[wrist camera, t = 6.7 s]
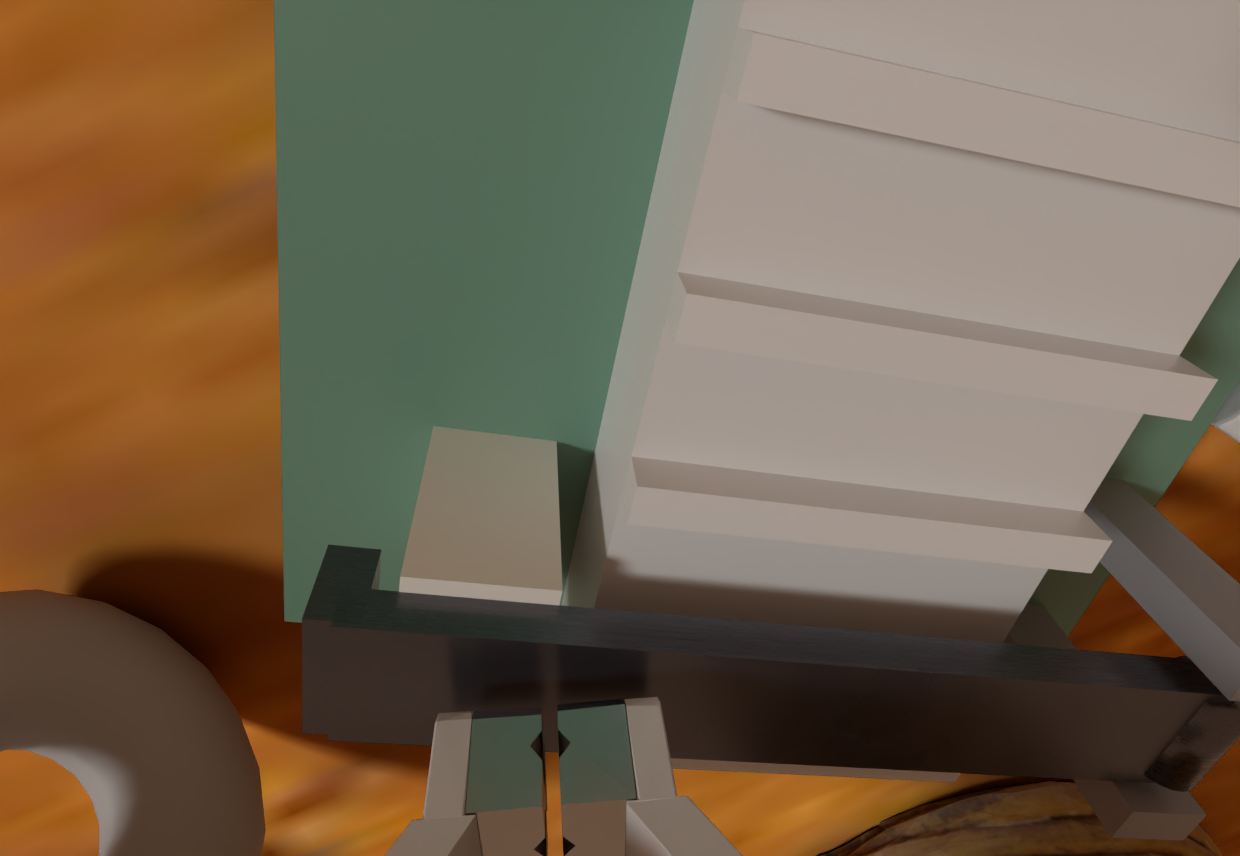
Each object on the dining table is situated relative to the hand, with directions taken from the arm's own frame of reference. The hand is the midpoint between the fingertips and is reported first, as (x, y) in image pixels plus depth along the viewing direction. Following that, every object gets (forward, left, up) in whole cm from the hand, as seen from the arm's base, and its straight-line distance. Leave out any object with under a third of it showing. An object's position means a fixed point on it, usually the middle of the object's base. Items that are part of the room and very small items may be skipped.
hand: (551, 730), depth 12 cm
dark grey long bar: (0, -4, -2) cm, 5 cm away
